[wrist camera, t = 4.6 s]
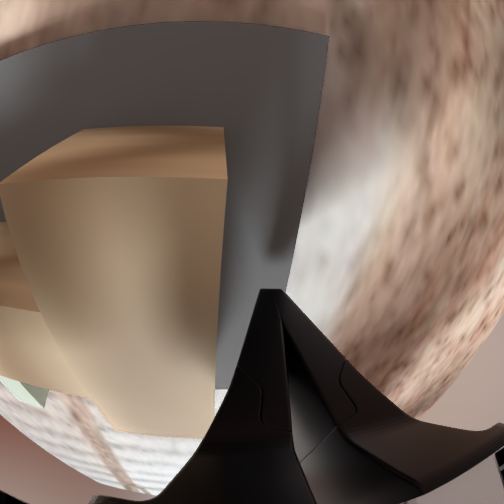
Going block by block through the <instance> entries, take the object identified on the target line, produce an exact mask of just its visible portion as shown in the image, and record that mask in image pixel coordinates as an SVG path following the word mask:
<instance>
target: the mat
mask: <svg viewBox="0 0 504 504" xmlns="http://www.w3.org/2000/svg"><path fill="white" fill-rule="evenodd" d="M328 40H329V36H325V35H321V34H316V33H311V32H306V31H301V30H295V29H289V28H283V27H276V26H268V25H259V24H249V23H236V22H213V21H187V22H164V23H151V24H141V25H133V26H125V27H118V28H112V29H106V30H101V31H96V32H91V33H86V34H82V35H77V36H73V37H69V38H65V39H62V40H58V41H55V42H51V43H48V44H45V45H41V46H38V47H35V48H32V49H30V50H27V51H24V52H21V53H19V54H16V55H13V56H11V57H8V58H6V59H4V60H1V61H0V182H1V181H3V180H4V179H5V178H7V177H8V176H9V175H11V174H12V173H14V172H15V171H16V170H18V169H19V168H21V167H22V166H24V165H25V164H26V163H28V162H29V161H31V160H32V159H34V158H35V157H37V156H39V155H40V154H42V153H43V152H45V151H47V150H48V149H50V148H51V147H53V146H55V145H56V144H58V143H60V142H62V141H63V140H65V139H67V138H69V137H70V136H72V135H74V134H76V133H78V132H79V131H81V130H83V129H93V128H106V127H123V126H209V127H224V139H225V152H226V164H227V176H228V182H227V193H226V206H225V218H224V231H223V245H222V259H221V274H220V291H219V308H218V327H217V349H216V374H215V389H229V386H230V383H231V381H232V378H233V375H234V372H235V368H236V366H237V362H238V359H239V356H240V353H241V349H242V346H243V343H244V340H245V336H246V333H247V330H248V327H249V323H250V320H251V317H252V313H253V310H254V307H255V303H256V300H257V297H258V293H259V290H260V289H262V288H268V289H282V290H283V291H284V292H285V291H286V287H287V282H288V277H289V273H290V268H291V263H292V258H293V254H294V249H295V244H296V239H297V234H298V229H299V224H300V218H301V213H302V208H303V203H304V197H305V192H306V186H307V181H308V175H309V169H310V164H311V158H312V152H313V146H314V140H315V134H316V127H317V121H318V114H319V108H320V101H321V94H322V87H323V80H324V72H325V65H326V57H327V49H328ZM0 222H7V221H6V218H5V214H4V210H3V206H2V202H1V198H0Z"/></svg>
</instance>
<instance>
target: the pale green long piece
mask: <svg viewBox="0 0 504 504" xmlns="http://www.w3.org/2000/svg"><path fill="white" fill-rule="evenodd" d="M0 381H1V382H2V383H3V385H4V386H5V387H6V388H7V389H8V390H9V391H10V392H11V393H12V394H13V395H14V396H15V397H16V398H17V400H18V401H21V402H24V403H27V404H30V405H34V406H37V407H40V408H44V406H45V402H46V399H47V395H48V391H49V389H45V388H41V387H37V386H33V385H30V384H26V383H23V382H19V381H16V380H13V379H10V378H7V377H4V376H1V375H0Z"/></svg>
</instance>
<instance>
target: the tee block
mask: <svg viewBox="0 0 504 504" xmlns="http://www.w3.org/2000/svg"><path fill="white" fill-rule="evenodd" d="M227 182H228V176H227V164H226V152H225V139H224V127H209V126H123V127H106V128H93V129H83V130H81V131H79V132H78V133H76V134H74V135H72V136H70V137H69V138H67V139H65V140H63V141H62V142H60V143H58V144H56V145H55V146H53V147H51V148H50V149H48V150H47V151H45V152H43V153H42V154H40V155H39V156H37V157H35V158H34V159H32V160H31V161H29V162H28V163H26V164H25V165H24V166H22V167H21V168H19V169H18V170H16V171H15V172H14V173H12V174H11V175H9V176H8V177H7V178H5V179H4V180H3V181H1V182H0V198H1V202H2V206H3V210H4V214H5V218H6V221H7V222H0V375H1V376H4V377H7V378H10V379H13V380H16V381H19V382H23V383H26V384H30V385H33V386H37V387H41V388H45V389H49V390H53V391H57V392H61V393H66V394H70V395H75V396H80V397H86V398H90V399H91V400H92V401H93V403H94V404H95V406H96V407H97V408H98V410H99V411H100V412H101V414H102V415H103V416H104V418H105V419H106V420H107V422H108V423H109V424H110V426H111V427H112V428H113V429H114V431H120V432H127V433H134V434H143V435H152V436H164V437H179V438H204V436H205V434H206V433H207V431H208V429H209V427H210V425H211V423H212V421H213V419H214V405H215V374H216V349H217V327H218V308H219V291H220V274H221V259H222V245H223V231H224V218H225V206H226V193H227Z"/></svg>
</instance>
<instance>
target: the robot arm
mask: <svg viewBox="0 0 504 504" xmlns="http://www.w3.org/2000/svg"><path fill="white" fill-rule="evenodd" d="M503 446H504V424H502V423H497V424H496V425H494V426H492V427H491V428H489V429H487V430H483V431H469V430H463V429H457V428H451V427H446V426H441V425H436V424H431V423H427V422H422V421H419V420H417V419H414V418H412V417H411V416H409V415H407V414H406V413H405V412H403V411H402V410H401V409H400V408H399V407H397V406H396V405H395V404H394V403H393V402H391V401H390V400H389V399H388V398H387V397H386V396H384V395H383V394H382V393H381V392H380V391H379V390H377V389H376V388H375V387H374V386H373V385H372V384H371V383H370V382H369V381H368V380H366V379H365V378H364V377H363V376H362V375H361V374H360V373H359V372H358V371H357V370H356V369H355V368H354V367H353V365H352V364H351V363H350V362H349V361H348V360H347V359H346V360H345V357H344V356H343V355H342V354H341V353H340V352H339V350H338V349H337V348H336V347H335V346H334V345H333V344H332V343H331V342H330V341H329V340H328V339H327V337H326V336H325V335H324V334H323V333H322V332H321V331H320V330H319V329H318V328H317V327H316V326H315V324H314V323H313V322H312V321H311V320H310V319H309V318H308V317H307V316H306V315H305V314H304V313H303V311H302V310H301V309H300V308H299V307H298V306H297V305H296V304H295V303H294V302H293V301H292V300H291V298H290V297H289V296H288V295H287V294H286V293H285V292H284V291H283V290H282V289H268V288H262V289H260V290H259V293H258V297H257V300H256V303H255V307H254V310H253V313H252V317H251V320H250V323H249V327H248V330H247V333H246V336H245V340H244V343H243V346H242V349H241V353H240V356H239V359H238V362H237V366H236V368H235V372H234V375H233V378H232V381H231V383H230V386H229V389H228V391H227V393H226V396H225V398H224V400H223V402H222V404H221V406H220V408H219V410H218V412H217V414H216V416H215V418H214V419H213V421H212V423H211V425H210V427H209V429H208V431H207V433H206V434H205V436H204V438H203V440H202V442H201V443H200V445H199V447H198V448H197V450H196V451H195V453H194V454H193V456H192V457H191V458H190V459H189V461H188V462H187V463H186V464H185V465H184V467H183V468H182V469H181V470H180V471H179V473H178V474H177V475H176V476H175V477H174V478H173V480H172V481H171V482H170V483H169V484H168V485H167V486H166V488H165V489H164V490H163V491H162V492H161V493H160V494H159V495H157V496H156V497H154V498H152V499H150V500H145V501H134V500H128V499H123V498H116V497H112V496H106V495H99V494H97V495H94V496H93V497H92V499H91V501H90V502H89V504H504V447H503ZM502 447H503V448H502ZM500 448H501V449H500ZM499 449H500V450H499ZM496 451H497V452H496ZM495 452H496V453H495ZM0 504H29V503H27V502H25V501H22V500H20V499H18V498H16V497H14V496H12V495H10V494H8V493H6V492H4V491H2V490H0Z"/></svg>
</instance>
